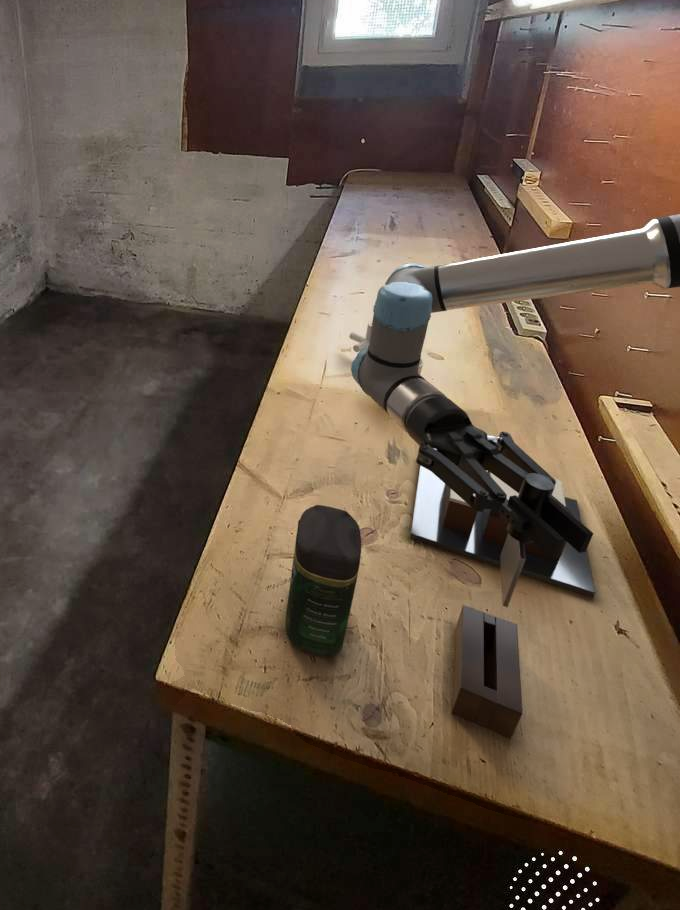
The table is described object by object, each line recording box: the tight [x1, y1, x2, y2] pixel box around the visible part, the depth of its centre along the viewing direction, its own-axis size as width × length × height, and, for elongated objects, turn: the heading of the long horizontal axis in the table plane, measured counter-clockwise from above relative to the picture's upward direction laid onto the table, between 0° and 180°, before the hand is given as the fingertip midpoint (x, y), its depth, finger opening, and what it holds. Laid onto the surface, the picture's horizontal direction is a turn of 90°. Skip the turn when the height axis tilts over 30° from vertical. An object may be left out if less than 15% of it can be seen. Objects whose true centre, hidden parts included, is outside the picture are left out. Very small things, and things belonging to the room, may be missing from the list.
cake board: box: [409, 465, 597, 598], centre depth 92 cm, size 24×20×1 cm
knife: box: [500, 473, 555, 608], centre depth 66 cm, size 8×3×16 cm, turn 152°
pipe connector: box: [348, 322, 372, 353], centre depth 137 cm, size 10×10×10 cm
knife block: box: [451, 604, 524, 739], centre depth 69 cm, size 12×6×5 cm, turn 151°
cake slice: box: [443, 485, 478, 534], centre depth 93 cm, size 4×12×6 cm, turn 152°
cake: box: [482, 470, 567, 561], centre depth 90 cm, size 10×12×6 cm
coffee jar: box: [285, 504, 362, 658], centre depth 73 cm, size 10×8×19 cm
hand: (571, 545), depth 59 cm, fingers closed on knife, 3 cm apart
